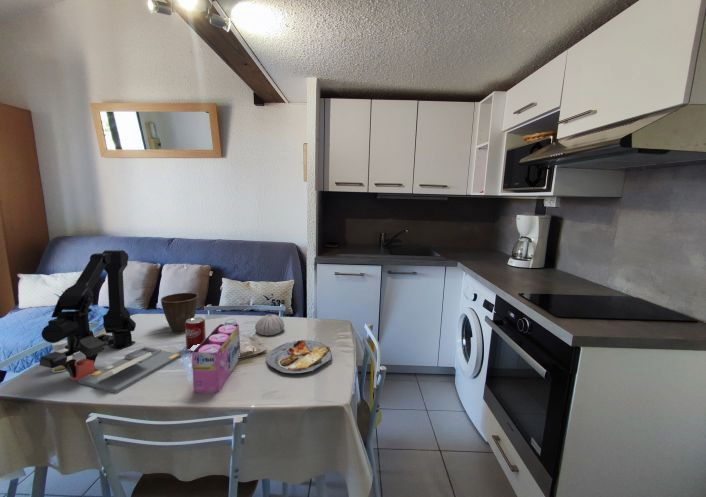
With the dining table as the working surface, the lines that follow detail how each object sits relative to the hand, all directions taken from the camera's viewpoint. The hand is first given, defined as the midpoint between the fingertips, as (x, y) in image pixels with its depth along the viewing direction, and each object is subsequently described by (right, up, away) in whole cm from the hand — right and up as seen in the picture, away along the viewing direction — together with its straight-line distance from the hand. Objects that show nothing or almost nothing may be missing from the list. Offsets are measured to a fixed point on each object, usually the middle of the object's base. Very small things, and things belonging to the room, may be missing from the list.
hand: (82, 373), depth 102 cm
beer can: (+41, +1, +22) cm, 47 cm away
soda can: (+27, +1, +22) cm, 35 cm away
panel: (+14, -1, +6) cm, 15 cm away
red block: (0, -1, 0) cm, 1 cm away
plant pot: (+11, +4, +39) cm, 41 cm away
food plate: (+71, -1, +16) cm, 73 cm away
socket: (+12, +2, +13) cm, 17 cm away
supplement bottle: (-11, 0, +4) cm, 12 cm away
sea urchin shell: (+52, +3, +41) cm, 66 cm away
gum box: (+44, -2, +4) cm, 45 cm away
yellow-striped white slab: (+15, +3, -1) cm, 15 cm away
